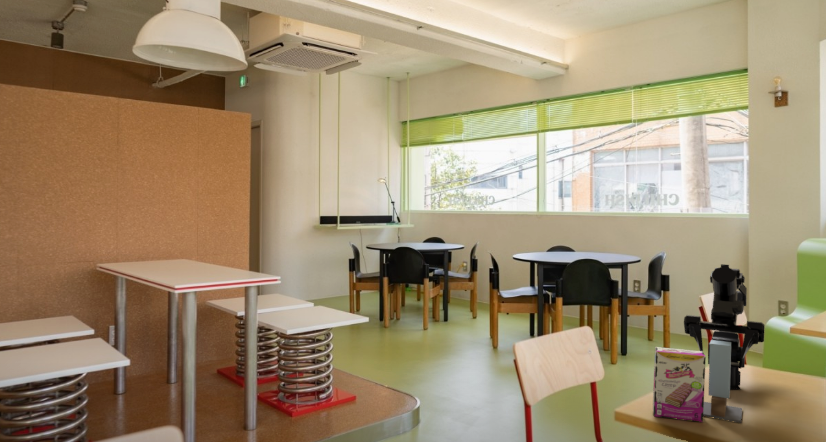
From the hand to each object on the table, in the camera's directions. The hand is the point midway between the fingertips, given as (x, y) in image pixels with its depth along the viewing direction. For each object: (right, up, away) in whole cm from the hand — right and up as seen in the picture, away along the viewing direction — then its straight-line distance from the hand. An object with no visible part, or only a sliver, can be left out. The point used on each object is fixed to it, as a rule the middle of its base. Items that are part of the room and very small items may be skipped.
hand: (721, 355), depth 149 cm
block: (-3, -9, -4) cm, 10 cm away
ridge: (-3, -13, -4) cm, 14 cm away
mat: (-3, -13, -4) cm, 14 cm away
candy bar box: (-15, -14, -7) cm, 21 cm away
